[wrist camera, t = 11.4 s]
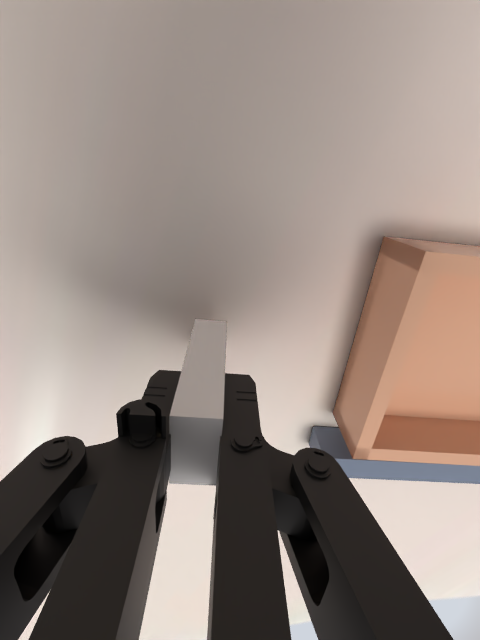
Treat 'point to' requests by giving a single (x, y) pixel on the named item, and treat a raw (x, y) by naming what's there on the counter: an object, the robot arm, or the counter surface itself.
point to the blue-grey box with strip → (388, 463)
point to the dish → (416, 358)
